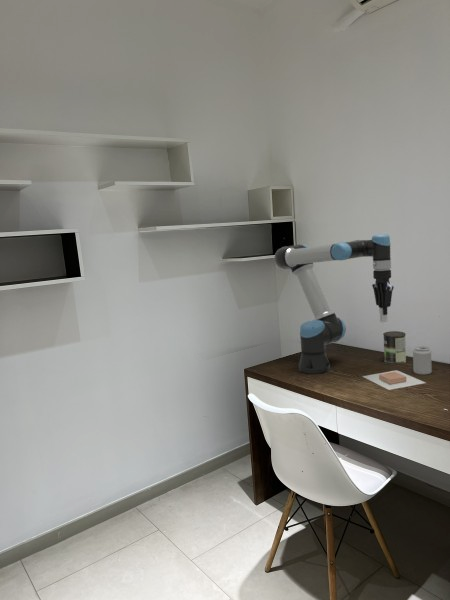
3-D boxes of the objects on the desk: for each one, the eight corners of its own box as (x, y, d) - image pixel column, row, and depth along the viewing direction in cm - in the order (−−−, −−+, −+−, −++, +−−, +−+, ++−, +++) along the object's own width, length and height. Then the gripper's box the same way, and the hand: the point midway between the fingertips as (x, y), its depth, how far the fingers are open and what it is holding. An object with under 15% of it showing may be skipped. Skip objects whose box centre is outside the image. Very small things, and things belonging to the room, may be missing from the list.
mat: (362, 377, 208) (362, 376, 208) (396, 371, 213) (396, 370, 213) (389, 391, 189) (388, 389, 189) (426, 384, 194) (426, 382, 194)
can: (434, 372, 208) (433, 346, 206) (428, 377, 202) (427, 350, 200) (417, 369, 213) (416, 344, 211) (410, 374, 207) (410, 348, 206)
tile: (379, 374, 202) (390, 379, 194) (394, 371, 204) (406, 376, 196) (379, 379, 202) (390, 384, 195) (395, 376, 204) (406, 381, 197)
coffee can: (384, 364, 225) (383, 336, 223) (383, 358, 235) (382, 331, 233) (407, 364, 222) (406, 335, 220) (405, 358, 232) (404, 330, 230)
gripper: (366, 269, 210) (368, 320, 213) (383, 271, 197) (385, 325, 201) (380, 268, 212) (382, 318, 215) (398, 269, 199) (400, 322, 202)
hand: (383, 321), depth 208 cm, fingers closed
